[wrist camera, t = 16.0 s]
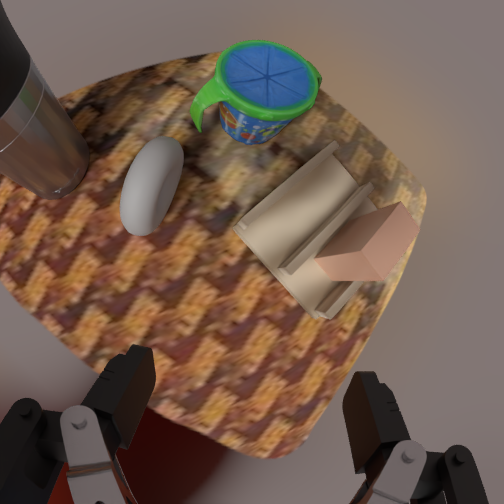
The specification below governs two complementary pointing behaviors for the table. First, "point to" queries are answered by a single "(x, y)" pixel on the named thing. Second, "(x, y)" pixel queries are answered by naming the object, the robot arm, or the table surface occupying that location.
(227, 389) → the table surface
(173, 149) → the grey ring
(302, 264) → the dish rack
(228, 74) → the snack cup
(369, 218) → the pink rectangular block
